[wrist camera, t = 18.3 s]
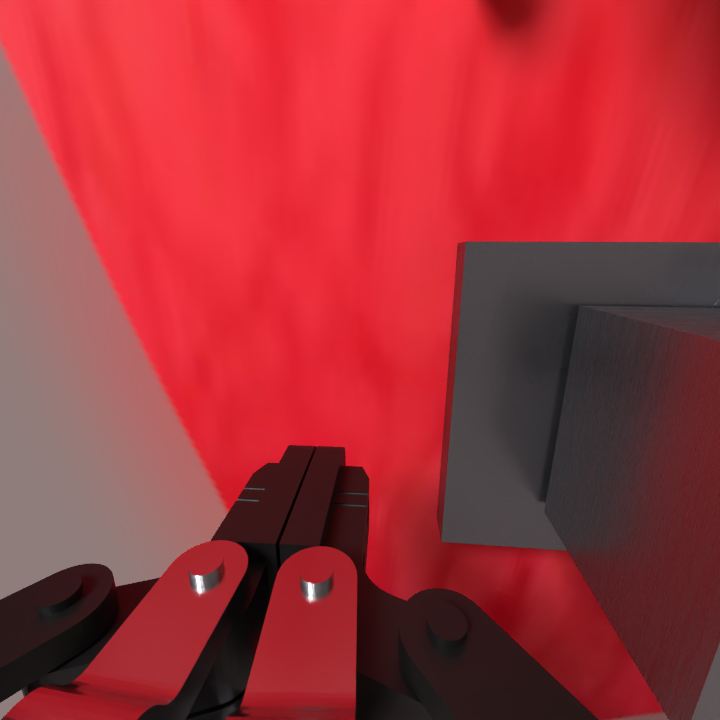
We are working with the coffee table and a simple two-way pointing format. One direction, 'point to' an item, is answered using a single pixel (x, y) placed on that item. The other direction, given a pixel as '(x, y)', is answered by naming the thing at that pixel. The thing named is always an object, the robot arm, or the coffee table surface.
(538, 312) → the vise
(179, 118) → the coffee table surface
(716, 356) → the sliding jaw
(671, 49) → the coffee table surface
